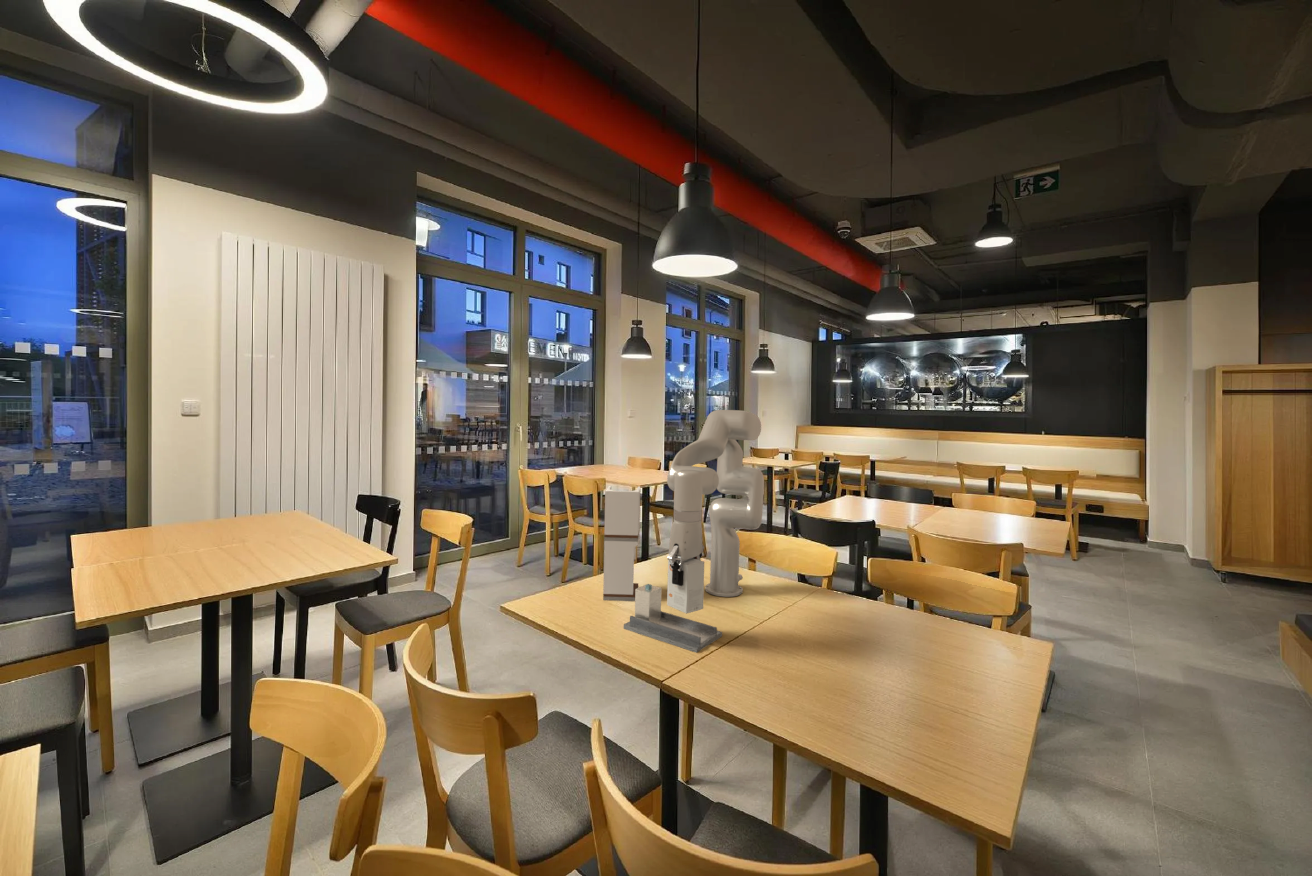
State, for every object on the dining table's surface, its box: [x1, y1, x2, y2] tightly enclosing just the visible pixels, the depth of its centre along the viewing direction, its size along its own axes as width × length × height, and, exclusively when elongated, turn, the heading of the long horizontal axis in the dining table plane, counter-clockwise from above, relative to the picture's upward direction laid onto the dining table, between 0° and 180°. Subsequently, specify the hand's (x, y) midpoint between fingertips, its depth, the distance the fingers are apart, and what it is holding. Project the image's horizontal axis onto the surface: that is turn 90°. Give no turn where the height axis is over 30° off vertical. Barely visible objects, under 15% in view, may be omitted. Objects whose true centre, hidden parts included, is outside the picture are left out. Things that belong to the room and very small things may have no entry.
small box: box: [666, 556, 705, 614], centre depth 151 cm, size 8×6×13 cm
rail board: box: [623, 583, 723, 654], centre depth 154 cm, size 13×24×12 cm, turn 54°
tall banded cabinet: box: [602, 485, 641, 602], centre depth 183 cm, size 11×11×35 cm
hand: (685, 580), depth 151 cm, fingers closed on small box, 7 cm apart
